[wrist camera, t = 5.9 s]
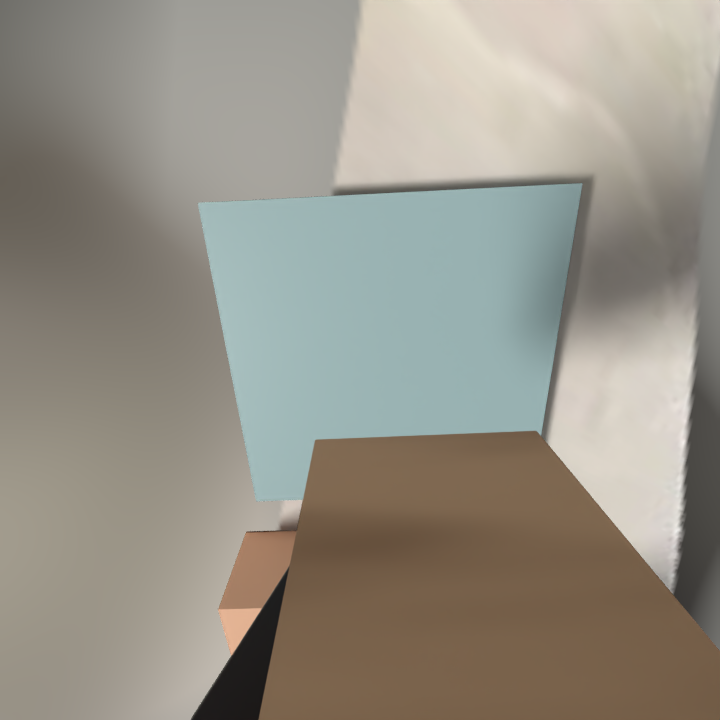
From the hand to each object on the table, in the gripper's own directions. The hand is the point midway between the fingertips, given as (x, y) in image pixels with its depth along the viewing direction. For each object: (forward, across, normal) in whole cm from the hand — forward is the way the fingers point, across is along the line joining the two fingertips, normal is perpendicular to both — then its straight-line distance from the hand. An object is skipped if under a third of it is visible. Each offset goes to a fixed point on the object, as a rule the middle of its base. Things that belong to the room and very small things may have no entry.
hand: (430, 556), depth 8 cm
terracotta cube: (+12, +7, +14) cm, 19 cm away
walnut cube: (+1, 0, 0) cm, 1 cm away
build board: (+12, 0, 0) cm, 12 cm away
